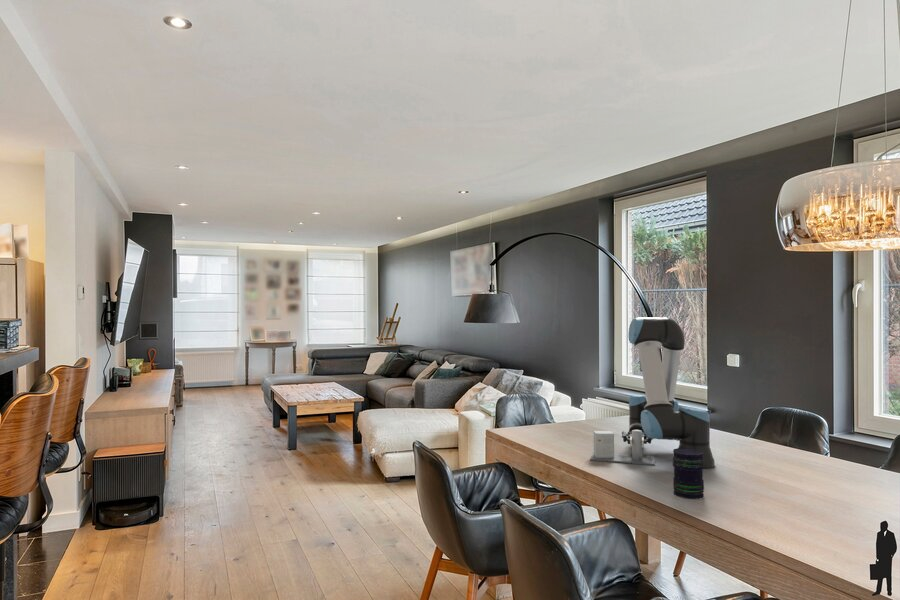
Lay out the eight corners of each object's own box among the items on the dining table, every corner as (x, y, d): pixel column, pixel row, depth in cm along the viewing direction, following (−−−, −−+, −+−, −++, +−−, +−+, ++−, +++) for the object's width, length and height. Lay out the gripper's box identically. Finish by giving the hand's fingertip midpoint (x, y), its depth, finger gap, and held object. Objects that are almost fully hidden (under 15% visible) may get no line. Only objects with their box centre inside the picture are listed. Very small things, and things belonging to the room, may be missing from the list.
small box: (612, 455, 253) (611, 430, 253) (614, 458, 247) (614, 433, 247) (593, 454, 253) (593, 430, 254) (595, 457, 248) (595, 433, 248)
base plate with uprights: (654, 458, 249) (654, 429, 249) (654, 465, 238) (654, 434, 238) (592, 453, 258) (592, 425, 258) (590, 460, 246) (589, 430, 247)
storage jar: (685, 500, 194) (685, 455, 194) (667, 491, 203) (666, 449, 203) (710, 497, 196) (710, 453, 197) (690, 489, 206) (690, 447, 206)
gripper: (657, 442, 260) (658, 453, 238) (618, 439, 266) (615, 450, 243) (657, 425, 260) (658, 435, 238) (617, 423, 266) (615, 432, 244)
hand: (636, 443), depth 241 cm, fingers closed on base plate with uprights, 4 cm apart
